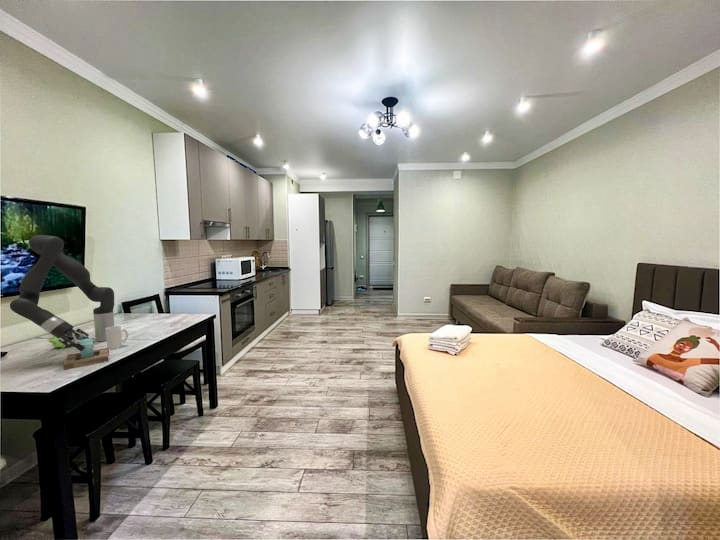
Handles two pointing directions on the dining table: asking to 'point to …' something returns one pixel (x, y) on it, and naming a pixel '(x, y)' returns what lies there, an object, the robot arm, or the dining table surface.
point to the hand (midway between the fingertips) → (88, 346)
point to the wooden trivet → (73, 362)
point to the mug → (115, 336)
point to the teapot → (57, 342)
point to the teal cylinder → (87, 348)
